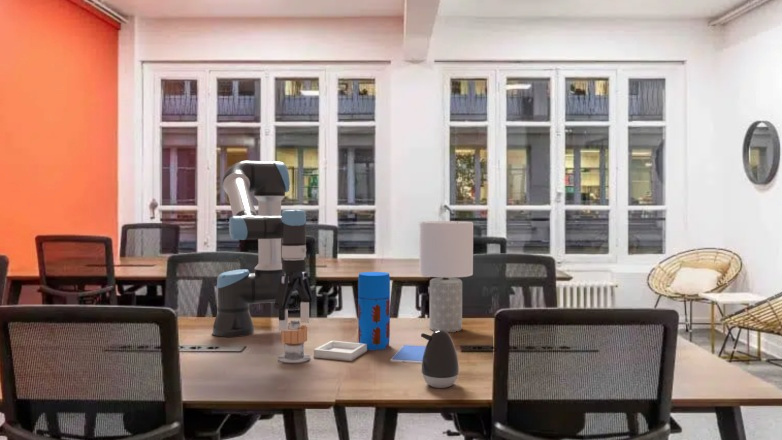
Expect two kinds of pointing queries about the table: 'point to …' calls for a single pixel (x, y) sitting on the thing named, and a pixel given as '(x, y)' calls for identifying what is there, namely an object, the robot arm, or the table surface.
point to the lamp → (446, 269)
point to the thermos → (374, 309)
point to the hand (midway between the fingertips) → (294, 326)
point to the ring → (294, 335)
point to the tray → (340, 350)
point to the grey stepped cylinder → (294, 349)
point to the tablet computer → (409, 354)
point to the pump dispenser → (439, 360)
